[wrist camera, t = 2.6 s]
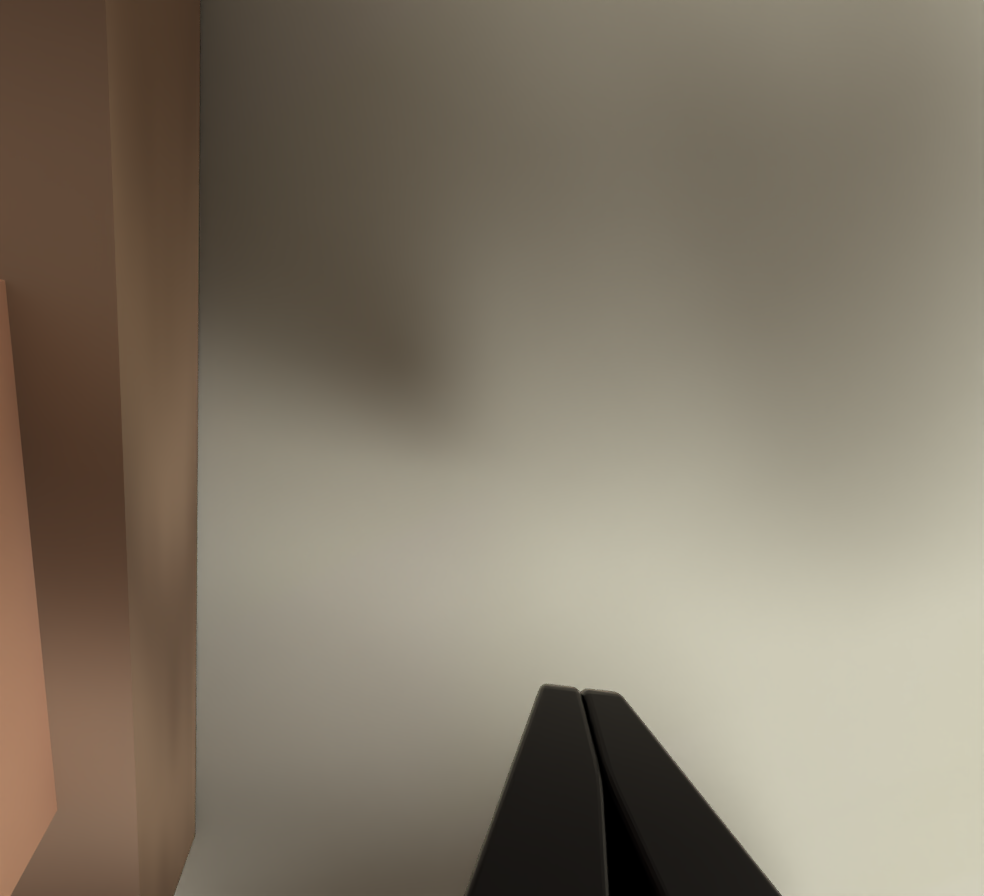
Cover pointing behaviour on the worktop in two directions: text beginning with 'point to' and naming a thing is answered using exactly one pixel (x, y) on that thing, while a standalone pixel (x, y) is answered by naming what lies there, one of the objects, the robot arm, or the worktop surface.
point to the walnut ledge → (108, 418)
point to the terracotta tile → (19, 652)
